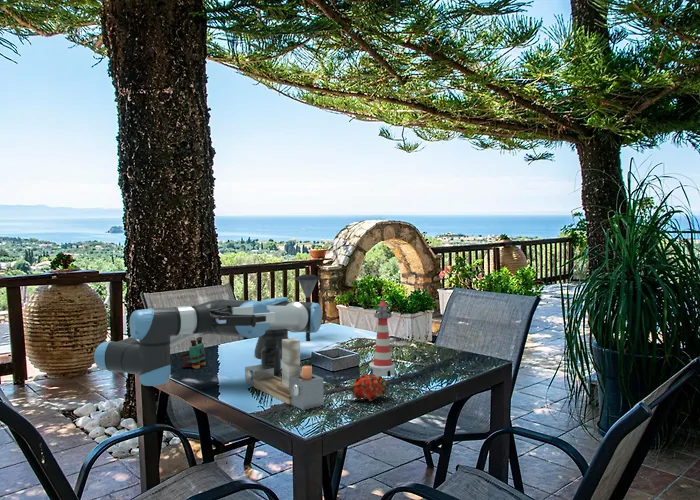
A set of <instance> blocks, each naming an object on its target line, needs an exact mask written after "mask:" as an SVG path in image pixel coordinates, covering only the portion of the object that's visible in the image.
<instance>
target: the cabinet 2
mask: <svg viewBox="0 0 700 500" xmlns="http://www.w3.org/2000/svg"><path fill="white" fill-rule="evenodd" d="M324 385H325V384H324V377H321V376H319V375H316V374H313V373H312V379H308V380H303V379H302V374H300V375H298V376H292V377H290V404H289V405H291V406H294V407H296V408H297V409H300V410H302V411H305V410H306V409H307V410H310V408H311V409H314V407H315V408H318V406H319V407H322V406H321V405H323V406H324V403H325V401H324V397H325V396H324Z"/></svg>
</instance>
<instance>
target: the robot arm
mask: <svg viewBox="0 0 700 500" xmlns="http://www.w3.org/2000/svg"><path fill="white" fill-rule="evenodd" d="M322 312H323V310H322V307H321V304H319V303H318V302H313V301H312V302H310V303H309V302H306V301H305V302H304V301H290V300H289V298H288V297H286V296H284V297H282V296H281V297H273V298H267V299H262V300H259V301H258V300H241V299H224V298H222V299H220V298H219V299H213V300H209V301H206V302H203V303H200V304H197V305H192V306H191V305H182V306H181V305H179V306H171V307H170V306H169V307H154V308H153V307H152V308H151V307H149V308H145V309H136V310H133V312H132V313H131V314H130V317H129V333H130V335H131V336H130V337H129V336H128V337H127V338H125V339H121V340H119V341H114V340H113V341H103V342H101V343H100V344H99V345H98V346H96V349H95V351H94V355H93V360H94V363H95V365H96V367H97V368H99V369H100V370H105V371H108V372H118V373H125V374H126V373H127V374H133V375H138V379H139V383H140V384H141V385H143V386H145V387H146V386H147V387H154V386H155V387H156V386H162V385H165V384H167V383H168V382H169V381H170V378H171V370H172V369H171V368H172V363H171V348H172V347H174V346H176V345H178V344H180V343H182V342H185V341H187V340H189V339H191V338H198V337H202V336H205V335H219V336H230V337H239V338H248V339H257V341H256V344H255V348H254V357H255V358H257V359H261V351H262V349H263V348H265V347H264V341H265V340H277V341H278V346H277V347H278V348H279V349H280V350H281V359H282V340H283V339H290V338H289V335H288V334H289V332H290V333H294V334H296V333H306V332H310V334H313V333H317V332H319V331H320V328H321V326H322V319H323V313H322Z"/></svg>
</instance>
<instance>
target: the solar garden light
mask: <svg viewBox="0 0 700 500" xmlns="http://www.w3.org/2000/svg"><path fill="white" fill-rule="evenodd" d="M294 280H295V281H298V282H299V285H300V287H301V289H302V291H303V294H304V296H305V302H309V303H311V297H312V293H313V291H314V289H315V286H317V285H316V284H317V282H318V281H320V280H321V277H318V276H317V275H315V274H301V275H299V276H297V277H295V278H294ZM305 341H307V342H309V341H311V333H310V332H305Z"/></svg>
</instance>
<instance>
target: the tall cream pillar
mask: <svg viewBox="0 0 700 500" xmlns="http://www.w3.org/2000/svg"><path fill="white" fill-rule="evenodd" d="M298 375H301V340H300V339H299V338H294V337H292V338H289V339H283V340H282V358H281V379H282V383H280V384H276V389H277V390H279V391H281V392H284V393H286V394H288V395H290V377H292V376H298Z"/></svg>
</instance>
